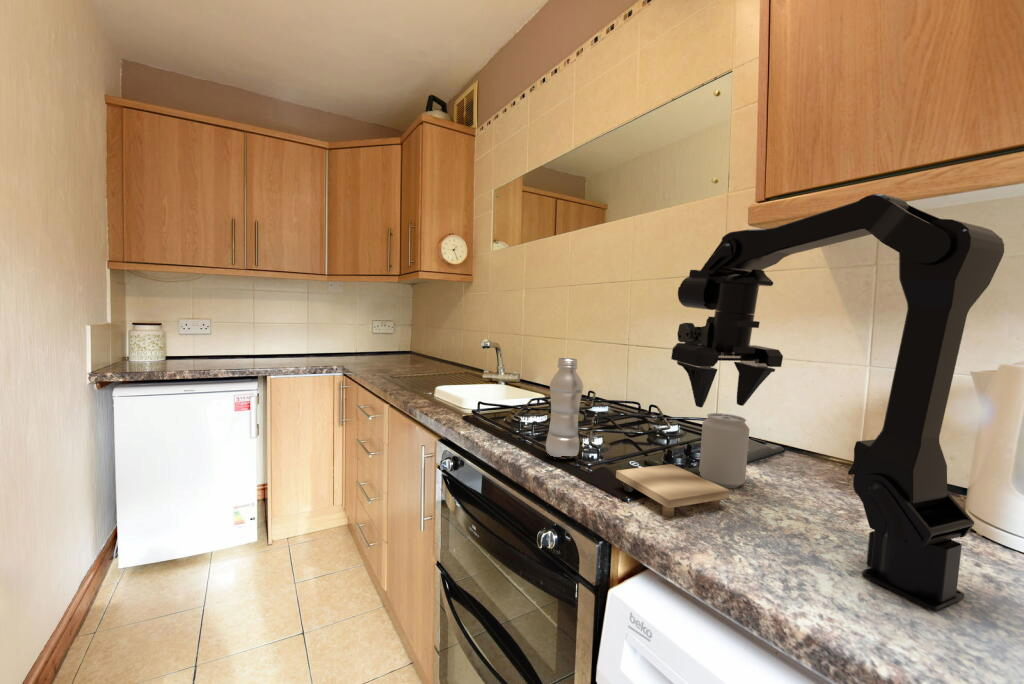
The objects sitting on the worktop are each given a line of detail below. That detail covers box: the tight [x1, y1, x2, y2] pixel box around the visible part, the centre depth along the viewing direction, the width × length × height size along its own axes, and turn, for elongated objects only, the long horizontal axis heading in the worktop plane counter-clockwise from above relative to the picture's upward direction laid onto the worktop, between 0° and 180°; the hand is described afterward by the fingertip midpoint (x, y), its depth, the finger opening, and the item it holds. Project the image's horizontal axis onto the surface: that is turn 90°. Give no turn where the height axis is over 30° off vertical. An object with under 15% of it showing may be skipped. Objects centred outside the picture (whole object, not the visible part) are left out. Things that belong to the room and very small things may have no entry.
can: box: [698, 412, 750, 489], centre depth 77 cm, size 8×8×12 cm
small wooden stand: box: [615, 463, 731, 518], centre depth 68 cm, size 12×12×3 cm
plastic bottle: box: [545, 357, 584, 457], centre depth 85 cm, size 6×7×20 cm
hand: (719, 405), depth 72 cm, fingers open, 9 cm apart
